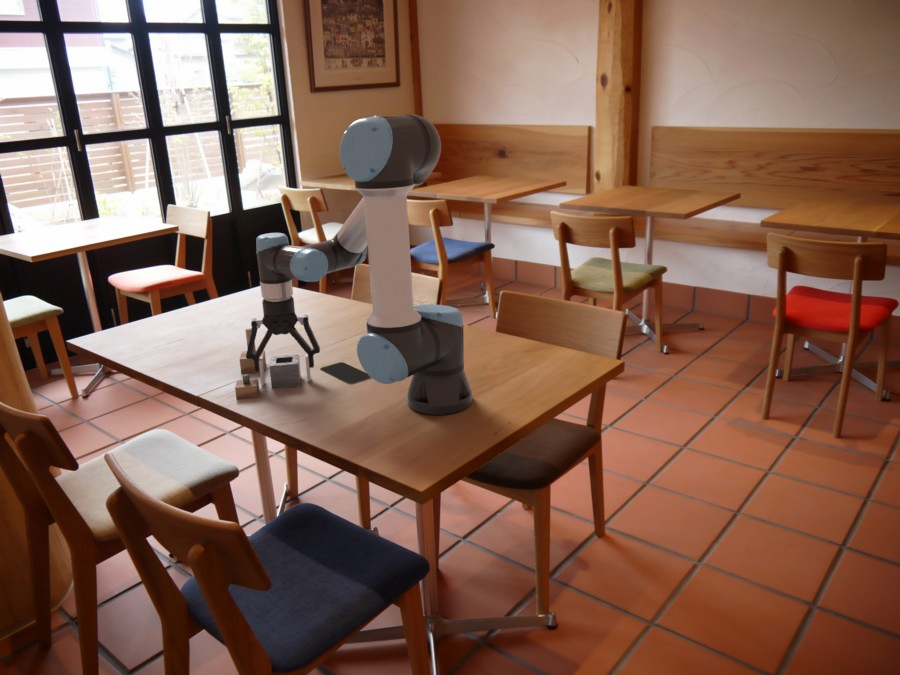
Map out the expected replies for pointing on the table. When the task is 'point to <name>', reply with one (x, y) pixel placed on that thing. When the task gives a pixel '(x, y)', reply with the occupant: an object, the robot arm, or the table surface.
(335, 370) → the smartphone
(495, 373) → the table surface
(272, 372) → the grey hollow square block
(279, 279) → the robot arm
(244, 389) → the block
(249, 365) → the wooden peg stand
